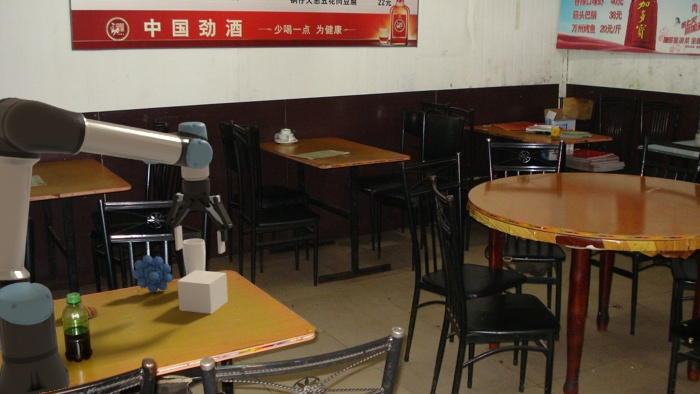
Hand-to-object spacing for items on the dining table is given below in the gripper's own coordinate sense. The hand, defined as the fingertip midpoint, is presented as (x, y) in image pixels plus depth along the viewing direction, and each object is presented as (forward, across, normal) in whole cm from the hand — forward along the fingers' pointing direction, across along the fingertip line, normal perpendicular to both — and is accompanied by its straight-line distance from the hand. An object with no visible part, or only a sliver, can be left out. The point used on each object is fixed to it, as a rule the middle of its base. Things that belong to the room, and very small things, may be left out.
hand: (200, 250), depth 215 cm
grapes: (+17, +20, -6) cm, 27 cm away
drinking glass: (+17, +10, -14) cm, 24 cm away
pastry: (+17, +30, +18) cm, 39 cm away
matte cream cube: (+17, 0, 0) cm, 17 cm away
